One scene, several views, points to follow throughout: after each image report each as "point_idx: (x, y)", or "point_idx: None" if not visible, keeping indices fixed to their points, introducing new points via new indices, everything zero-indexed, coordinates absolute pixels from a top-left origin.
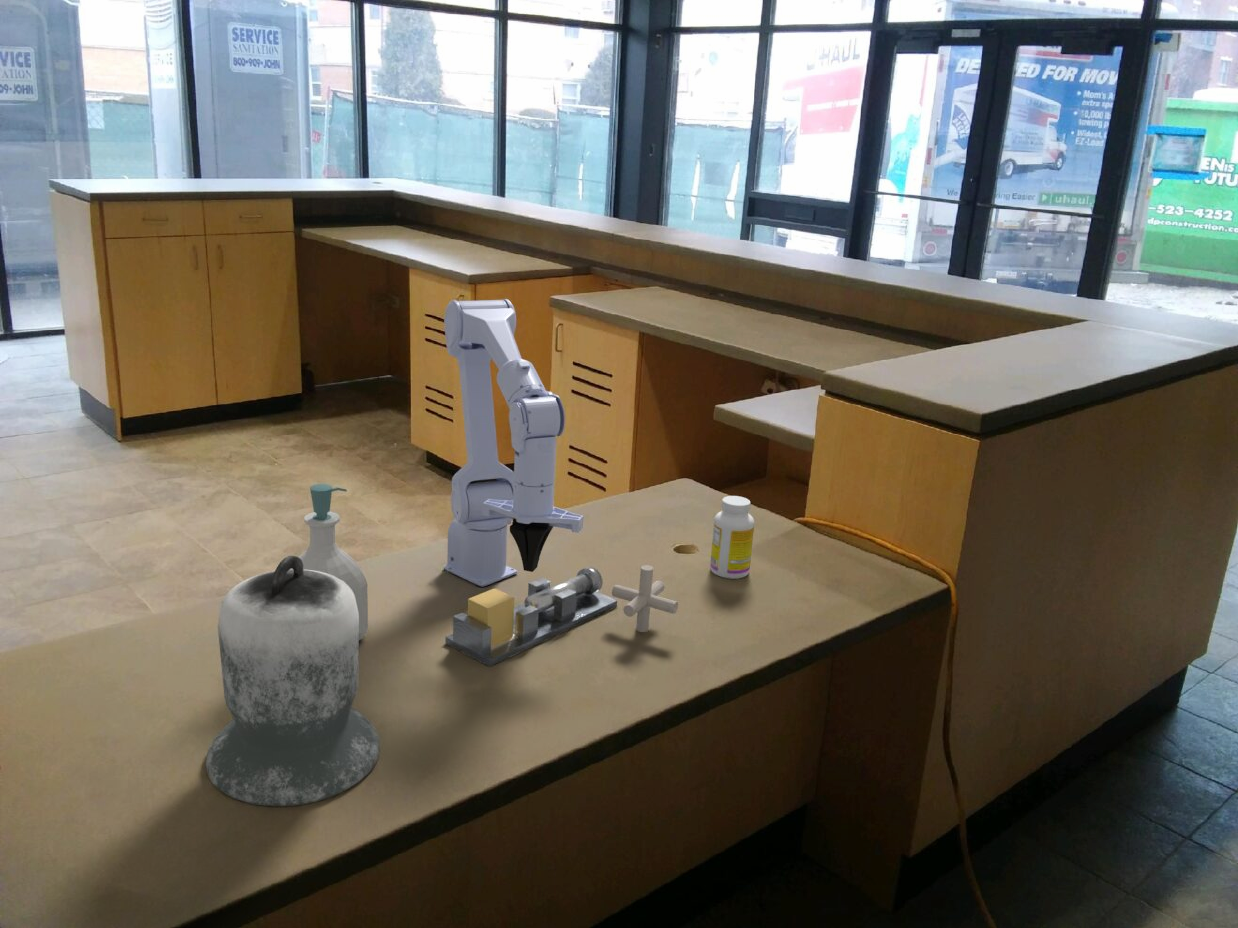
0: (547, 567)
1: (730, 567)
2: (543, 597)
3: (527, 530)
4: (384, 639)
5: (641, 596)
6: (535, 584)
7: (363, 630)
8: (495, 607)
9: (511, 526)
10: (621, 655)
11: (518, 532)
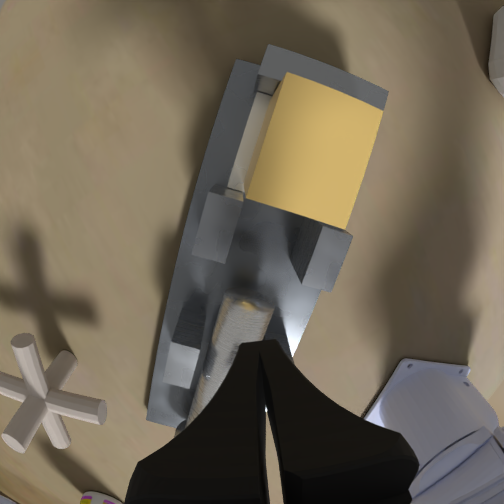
0: None
1: (87, 501)
2: (225, 331)
3: (248, 494)
4: (466, 89)
5: (29, 390)
6: None
7: (495, 63)
8: (274, 107)
9: (408, 473)
10: (38, 258)
11: (334, 456)
